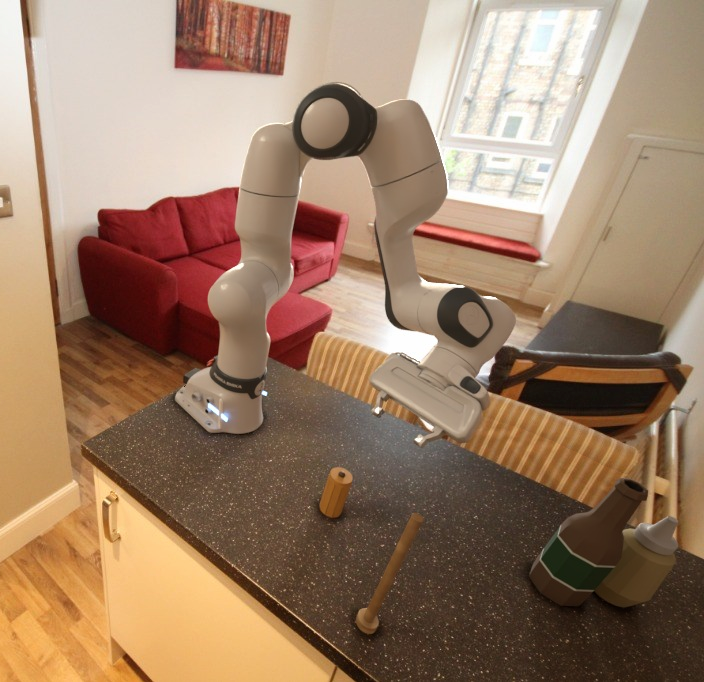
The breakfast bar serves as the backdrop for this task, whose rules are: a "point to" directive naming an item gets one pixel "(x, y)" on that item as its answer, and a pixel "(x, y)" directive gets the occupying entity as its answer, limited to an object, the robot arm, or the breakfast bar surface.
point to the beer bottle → (586, 546)
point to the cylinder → (335, 492)
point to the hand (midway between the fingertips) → (395, 429)
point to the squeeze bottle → (641, 564)
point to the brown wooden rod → (388, 576)
